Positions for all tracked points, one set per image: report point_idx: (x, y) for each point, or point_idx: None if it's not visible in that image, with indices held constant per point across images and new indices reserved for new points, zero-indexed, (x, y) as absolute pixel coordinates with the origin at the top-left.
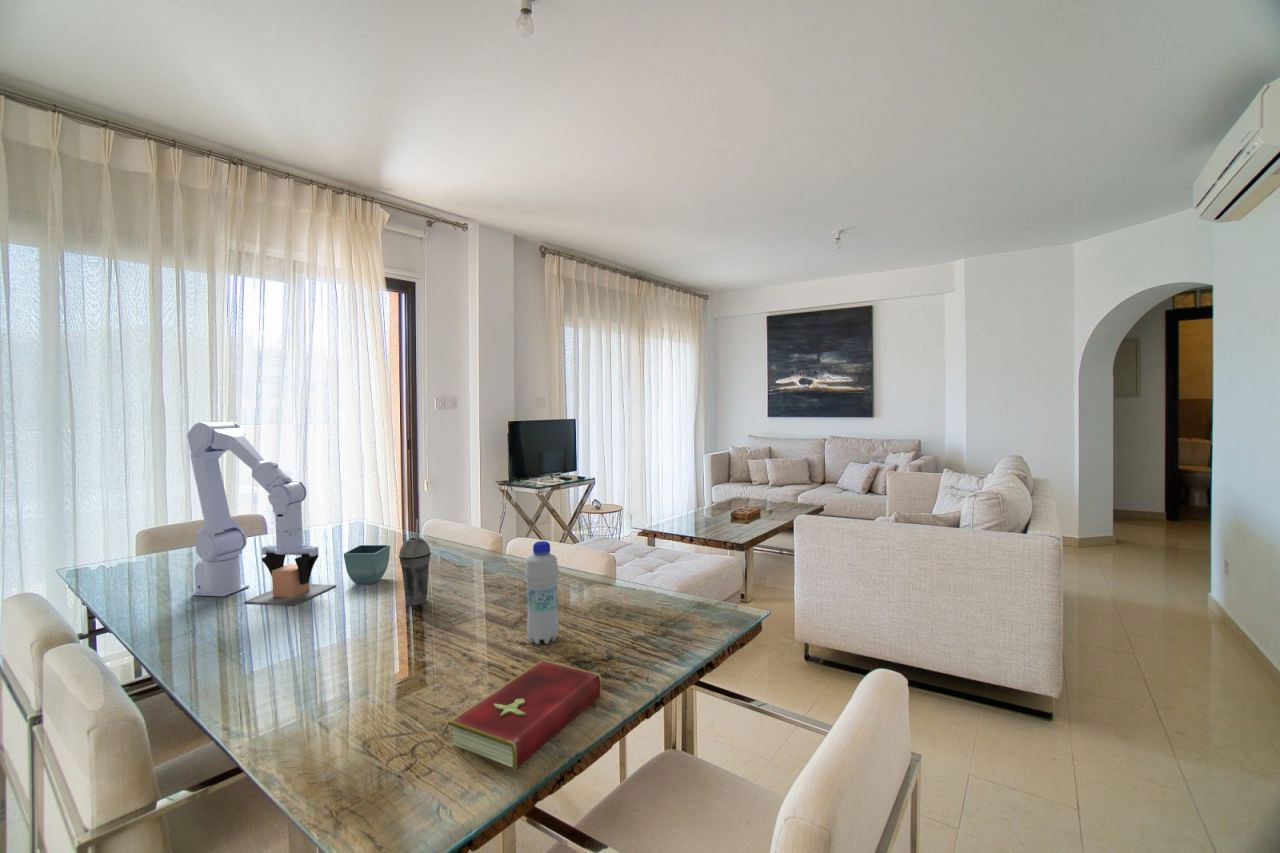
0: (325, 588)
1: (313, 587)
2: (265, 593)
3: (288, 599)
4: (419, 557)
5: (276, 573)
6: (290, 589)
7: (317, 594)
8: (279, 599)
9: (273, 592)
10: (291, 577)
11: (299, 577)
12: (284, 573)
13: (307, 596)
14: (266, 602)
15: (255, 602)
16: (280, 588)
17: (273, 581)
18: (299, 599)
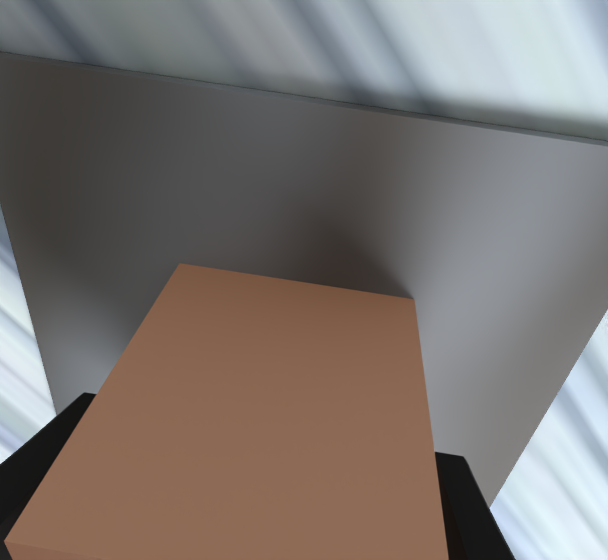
0: None
1: None
2: (548, 381)
3: (174, 207)
4: None
5: (352, 543)
6: (177, 319)
7: (41, 333)
8: (276, 211)
9: (409, 327)
10: (82, 438)
11: (53, 462)
12: (182, 518)
13: (58, 279)
14: (366, 114)
15: (524, 131)
16: (311, 344)
17: (411, 429)
18: (56, 202)
